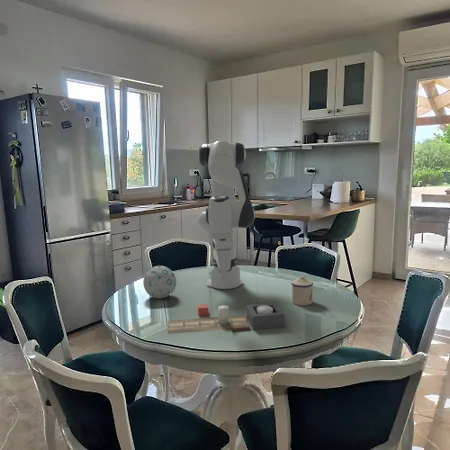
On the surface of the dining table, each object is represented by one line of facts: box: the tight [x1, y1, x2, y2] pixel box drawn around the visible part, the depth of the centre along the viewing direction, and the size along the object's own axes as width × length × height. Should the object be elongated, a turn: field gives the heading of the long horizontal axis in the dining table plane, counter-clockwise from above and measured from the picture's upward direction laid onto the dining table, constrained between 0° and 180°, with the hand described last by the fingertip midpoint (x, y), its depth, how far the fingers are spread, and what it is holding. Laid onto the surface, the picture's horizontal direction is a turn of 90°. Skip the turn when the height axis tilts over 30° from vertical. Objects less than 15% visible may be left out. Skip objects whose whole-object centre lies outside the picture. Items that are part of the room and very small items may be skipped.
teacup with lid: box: [291, 275, 314, 306], centre depth 167 cm, size 12×9×12 cm
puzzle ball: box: [143, 265, 177, 300], centre depth 177 cm, size 15×15×15 cm
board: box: [167, 314, 251, 335], centre depth 144 cm, size 12×30×1 cm, turn 97°
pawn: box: [217, 304, 230, 325], centre depth 144 cm, size 4×4×6 cm
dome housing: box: [246, 302, 285, 331], centre depth 146 cm, size 12×12×5 cm
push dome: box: [257, 305, 273, 314], centre depth 146 cm, size 6×6×3 cm
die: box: [197, 303, 210, 316], centre depth 154 cm, size 4×4×4 cm
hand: (222, 276), depth 142 cm, fingers open, 8 cm apart
